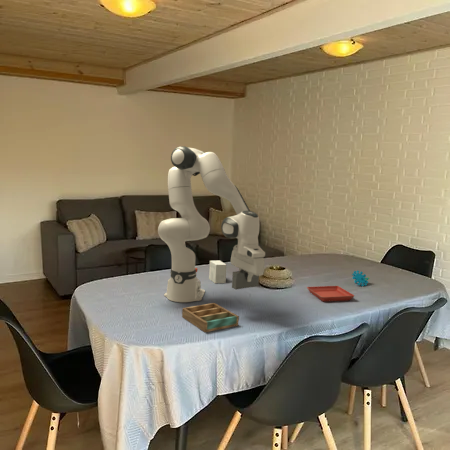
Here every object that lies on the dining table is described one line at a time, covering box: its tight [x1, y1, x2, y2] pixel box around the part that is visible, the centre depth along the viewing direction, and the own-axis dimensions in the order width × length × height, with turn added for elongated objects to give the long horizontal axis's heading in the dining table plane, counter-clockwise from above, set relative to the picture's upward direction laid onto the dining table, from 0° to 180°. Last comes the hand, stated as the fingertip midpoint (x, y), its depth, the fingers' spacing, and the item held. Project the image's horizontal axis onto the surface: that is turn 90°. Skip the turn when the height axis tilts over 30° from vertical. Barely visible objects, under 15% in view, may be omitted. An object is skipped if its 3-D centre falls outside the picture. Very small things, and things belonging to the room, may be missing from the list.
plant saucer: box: [306, 285, 355, 303], centre depth 235 cm, size 18×18×3 cm
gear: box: [351, 269, 370, 287], centre depth 260 cm, size 11×6×10 cm
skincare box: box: [208, 260, 227, 284], centre depth 255 cm, size 10×6×10 cm, turn 22°
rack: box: [181, 302, 240, 333], centre depth 194 cm, size 16×19×4 cm
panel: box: [231, 270, 260, 290], centre depth 202 cm, size 12×3×7 cm, turn 123°
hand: (245, 279), depth 202 cm, fingers closed on panel, 3 cm apart
